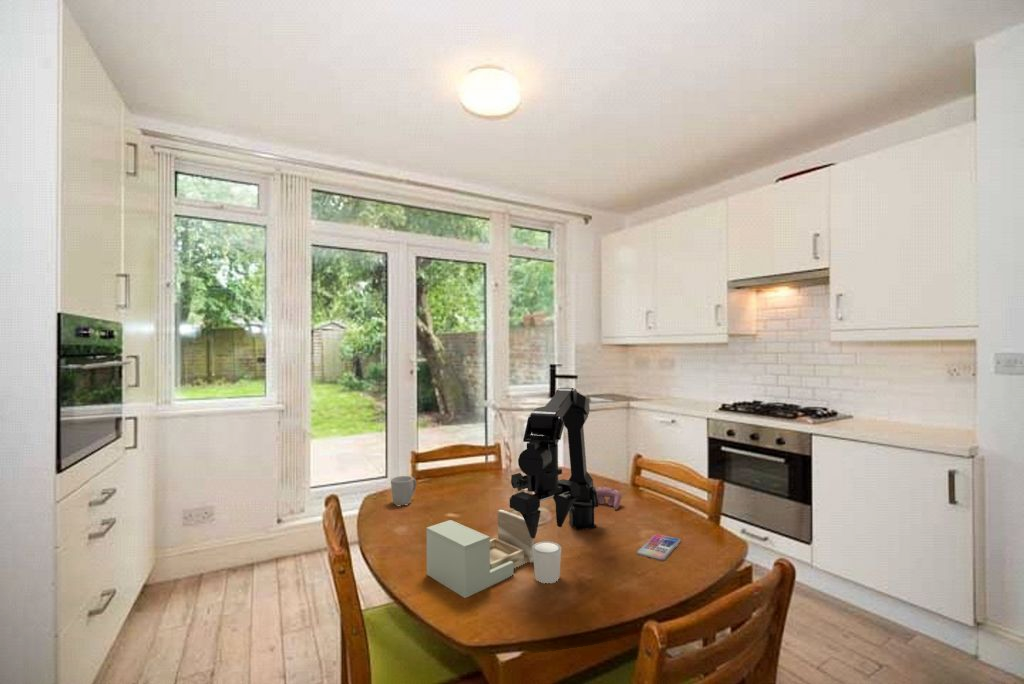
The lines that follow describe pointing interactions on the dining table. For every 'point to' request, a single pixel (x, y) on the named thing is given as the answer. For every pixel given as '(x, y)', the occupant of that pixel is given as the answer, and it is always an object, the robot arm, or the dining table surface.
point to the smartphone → (659, 547)
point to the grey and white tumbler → (546, 561)
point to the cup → (402, 489)
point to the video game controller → (611, 493)
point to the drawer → (511, 541)
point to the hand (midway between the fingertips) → (546, 532)
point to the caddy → (462, 559)
